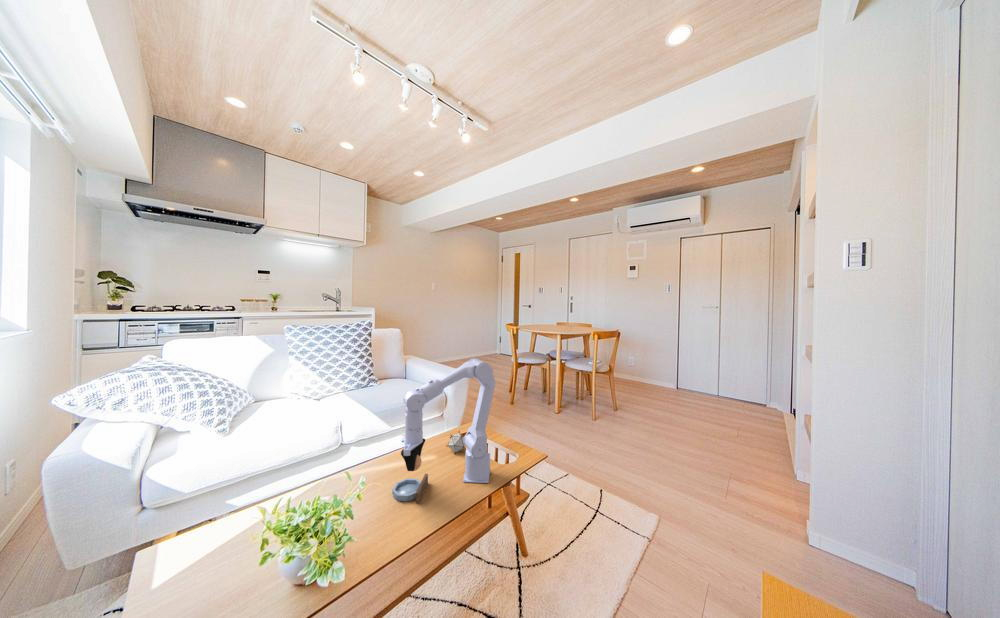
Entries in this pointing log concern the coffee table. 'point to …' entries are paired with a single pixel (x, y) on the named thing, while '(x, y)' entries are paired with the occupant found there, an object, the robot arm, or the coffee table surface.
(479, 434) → the robot arm
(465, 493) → the coffee table surface
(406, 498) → the dish
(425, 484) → the wooden block
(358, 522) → the coffee table surface
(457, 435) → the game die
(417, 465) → the ball
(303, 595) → the coffee table surface
